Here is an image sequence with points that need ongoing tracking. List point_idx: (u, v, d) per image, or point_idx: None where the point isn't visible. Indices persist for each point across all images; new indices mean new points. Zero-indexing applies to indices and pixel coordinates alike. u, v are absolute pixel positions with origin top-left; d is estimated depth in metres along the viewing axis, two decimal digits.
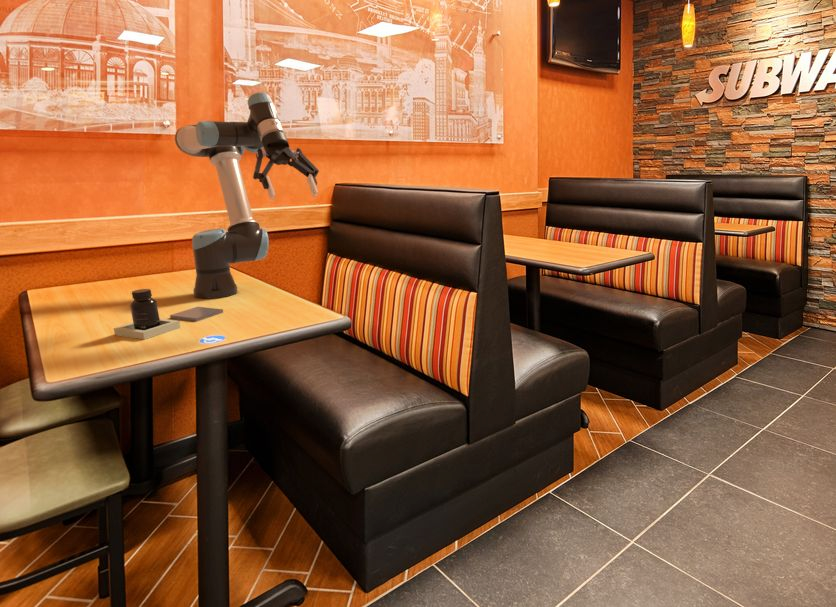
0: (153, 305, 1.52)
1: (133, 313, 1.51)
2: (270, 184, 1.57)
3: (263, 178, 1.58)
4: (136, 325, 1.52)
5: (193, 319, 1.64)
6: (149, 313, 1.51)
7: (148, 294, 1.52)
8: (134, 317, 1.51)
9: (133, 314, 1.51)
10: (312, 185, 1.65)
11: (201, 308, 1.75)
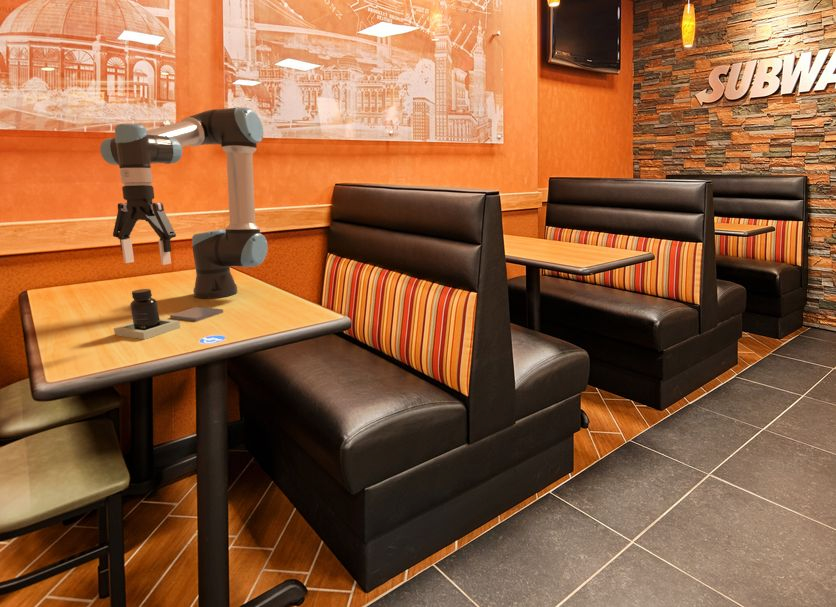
0: (153, 305, 1.52)
1: (133, 313, 1.51)
2: (123, 250, 1.51)
3: (121, 241, 1.51)
4: (136, 325, 1.52)
5: (193, 319, 1.64)
6: (149, 313, 1.51)
7: (148, 294, 1.52)
8: (134, 317, 1.51)
9: (133, 314, 1.51)
10: None
11: (201, 308, 1.75)
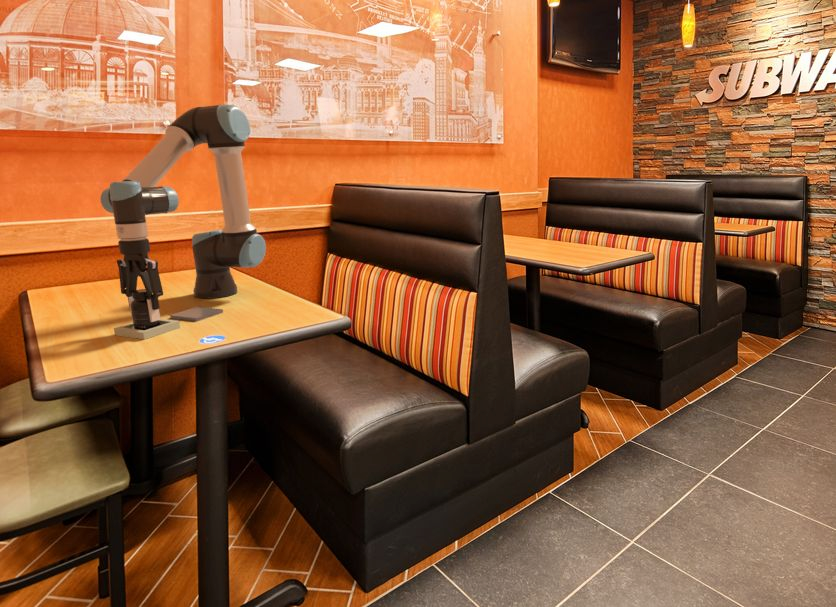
0: None
1: (133, 313, 1.51)
2: None
3: (128, 297, 1.54)
4: (136, 325, 1.52)
5: (193, 319, 1.64)
6: None
7: None
8: (134, 317, 1.51)
9: (133, 314, 1.51)
10: None
11: (201, 308, 1.75)
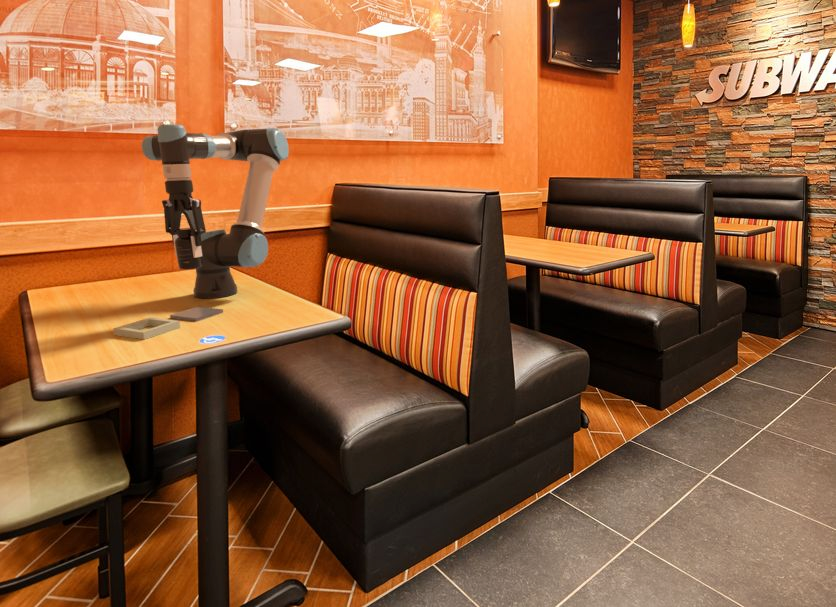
0: None
1: (178, 249, 1.63)
2: None
3: (172, 236, 1.66)
4: (180, 261, 1.64)
5: (193, 319, 1.64)
6: (192, 249, 1.63)
7: (191, 232, 1.64)
8: (178, 253, 1.63)
9: (178, 250, 1.63)
10: None
11: (201, 308, 1.75)
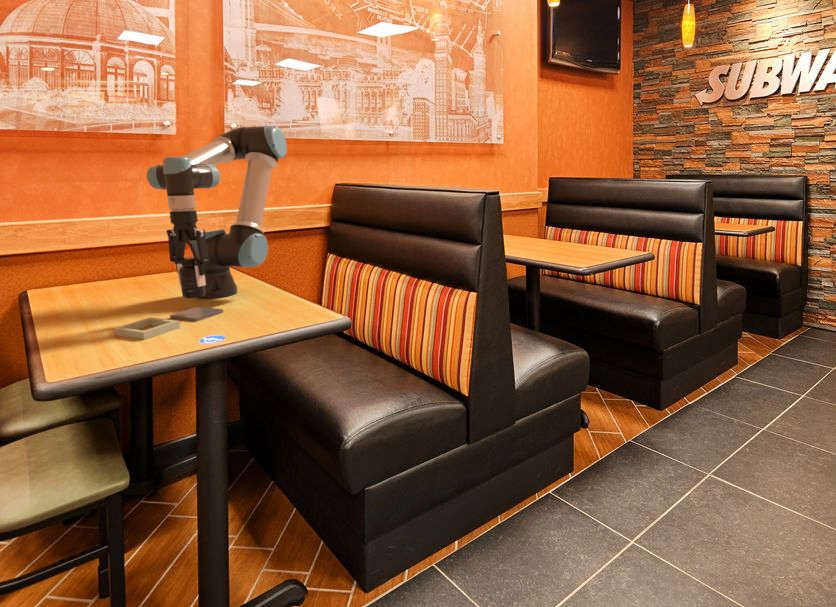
0: None
1: (182, 278, 1.65)
2: (178, 274, 1.68)
3: (176, 265, 1.68)
4: (184, 289, 1.66)
5: (193, 319, 1.64)
6: None
7: (195, 261, 1.66)
8: (182, 282, 1.65)
9: (181, 279, 1.65)
10: None
11: (201, 308, 1.75)
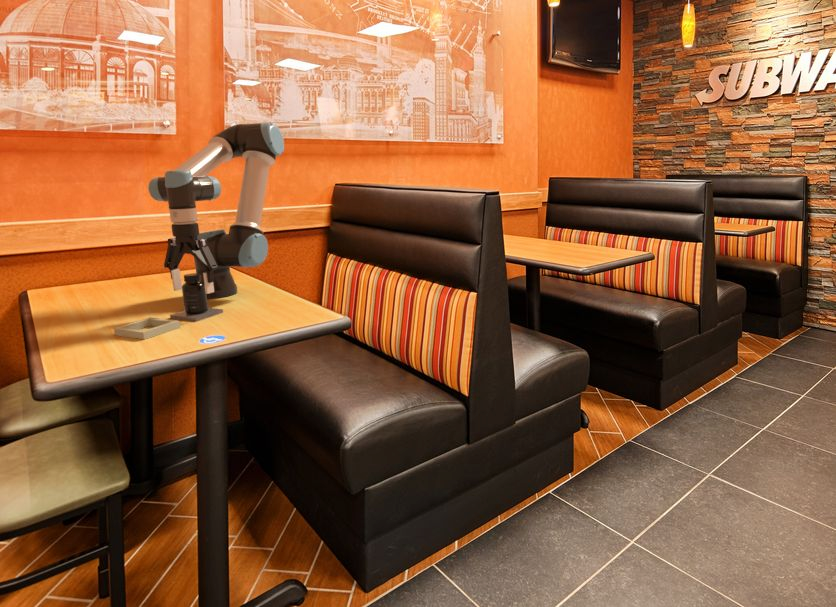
0: (202, 288, 1.68)
1: (185, 295, 1.67)
2: (173, 279, 1.70)
3: (170, 271, 1.70)
4: (187, 306, 1.67)
5: (193, 319, 1.64)
6: (199, 294, 1.67)
7: (198, 277, 1.67)
8: (185, 298, 1.67)
9: (185, 295, 1.67)
10: None
11: None
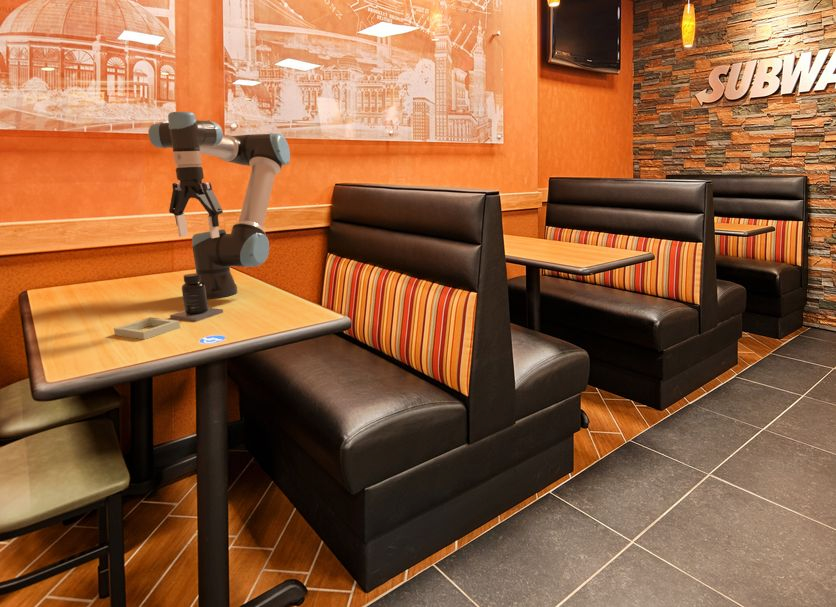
0: (202, 288, 1.68)
1: (184, 295, 1.66)
2: (178, 225, 1.69)
3: (176, 216, 1.70)
4: (187, 306, 1.67)
5: (193, 319, 1.64)
6: (199, 295, 1.67)
7: (198, 278, 1.67)
8: (185, 299, 1.67)
9: (184, 296, 1.67)
10: None
11: None
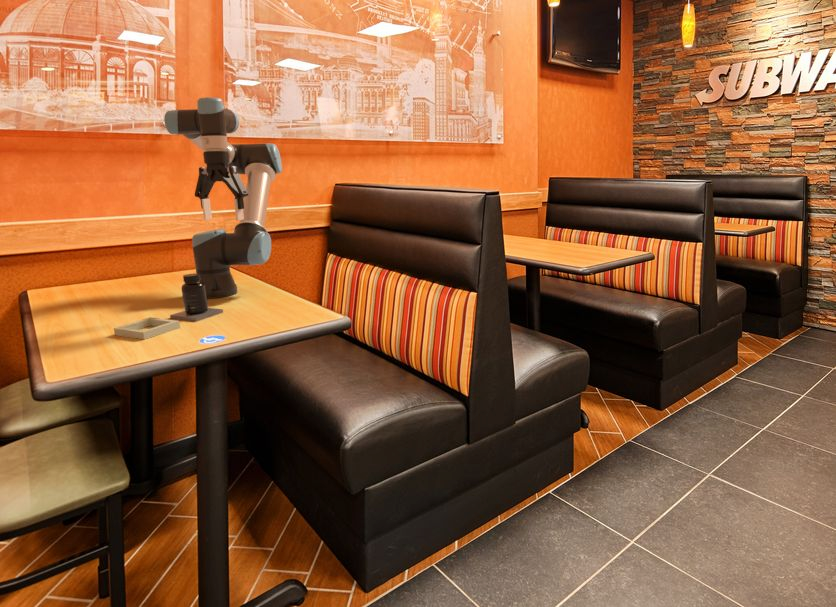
0: (202, 288, 1.68)
1: (184, 295, 1.66)
2: (203, 208, 1.75)
3: (201, 200, 1.75)
4: (187, 306, 1.67)
5: (193, 319, 1.64)
6: (198, 295, 1.67)
7: (197, 278, 1.67)
8: (185, 299, 1.67)
9: (184, 296, 1.67)
10: None
11: None
